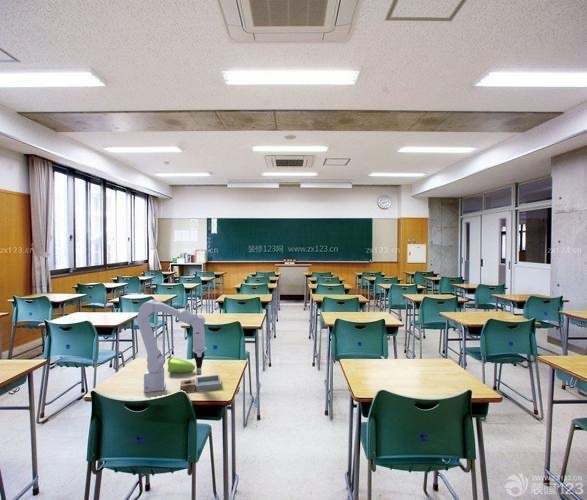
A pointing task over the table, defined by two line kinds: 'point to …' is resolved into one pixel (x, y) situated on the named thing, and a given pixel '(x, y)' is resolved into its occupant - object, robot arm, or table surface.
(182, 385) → the pin block
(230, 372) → the table surface
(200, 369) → the pin
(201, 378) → the tray
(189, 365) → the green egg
